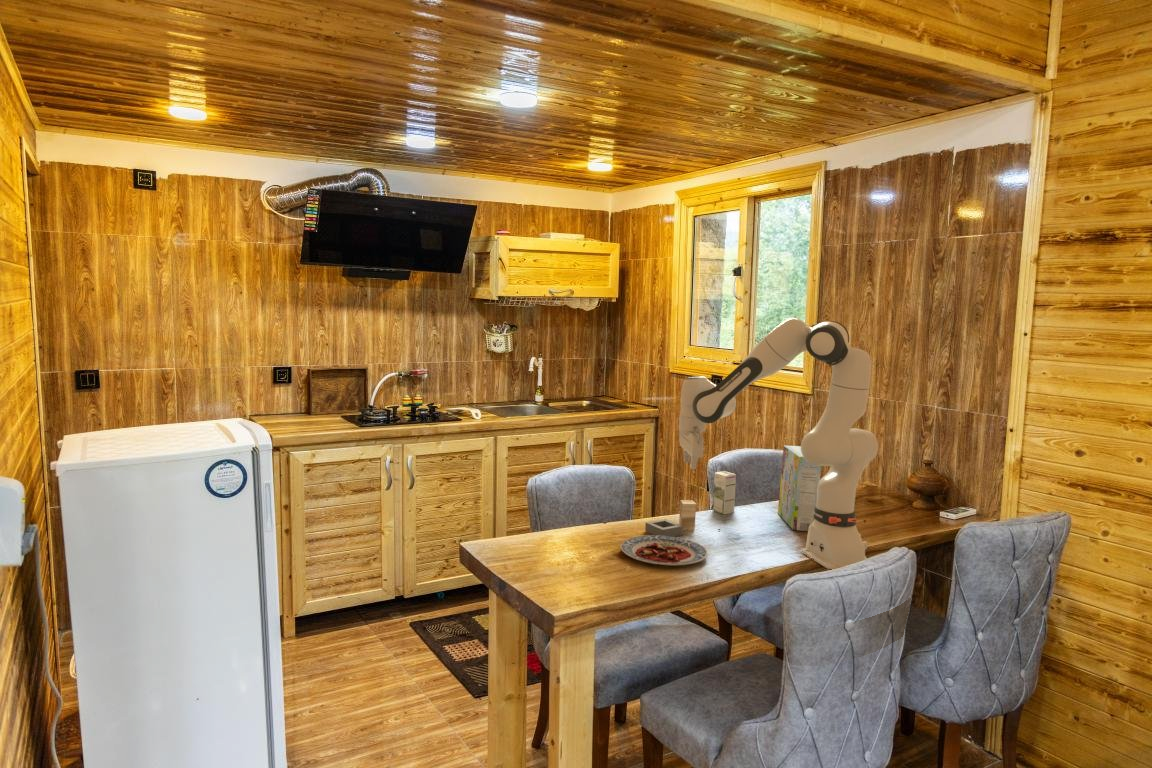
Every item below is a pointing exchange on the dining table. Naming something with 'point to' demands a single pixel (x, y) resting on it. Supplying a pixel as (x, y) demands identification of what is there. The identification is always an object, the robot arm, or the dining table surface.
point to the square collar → (664, 528)
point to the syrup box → (724, 492)
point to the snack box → (798, 489)
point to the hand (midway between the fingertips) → (689, 465)
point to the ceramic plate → (664, 550)
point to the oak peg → (687, 514)
